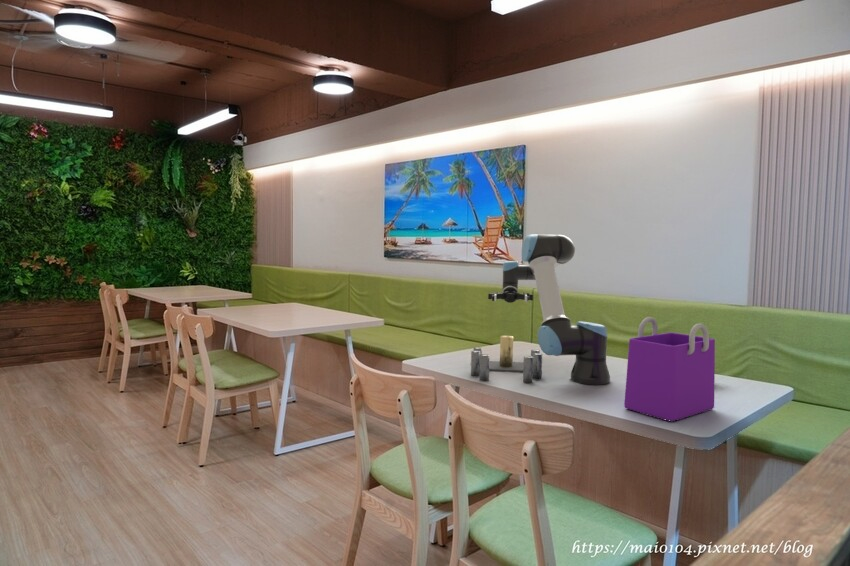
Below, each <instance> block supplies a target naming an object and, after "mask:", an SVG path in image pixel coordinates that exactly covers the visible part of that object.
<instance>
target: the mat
mask: <svg viewBox="0 0 850 566" xmlns="http://www.w3.org/2000/svg"><path fill="white" fill-rule="evenodd" d="M523 366H524V361H523V362H522V361H521V362H520V361H513V364H512V367H502V366H500V360H499V361H498V360H497V361H496V360H489V372H505V371H513V372H512V373H523Z"/></svg>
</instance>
